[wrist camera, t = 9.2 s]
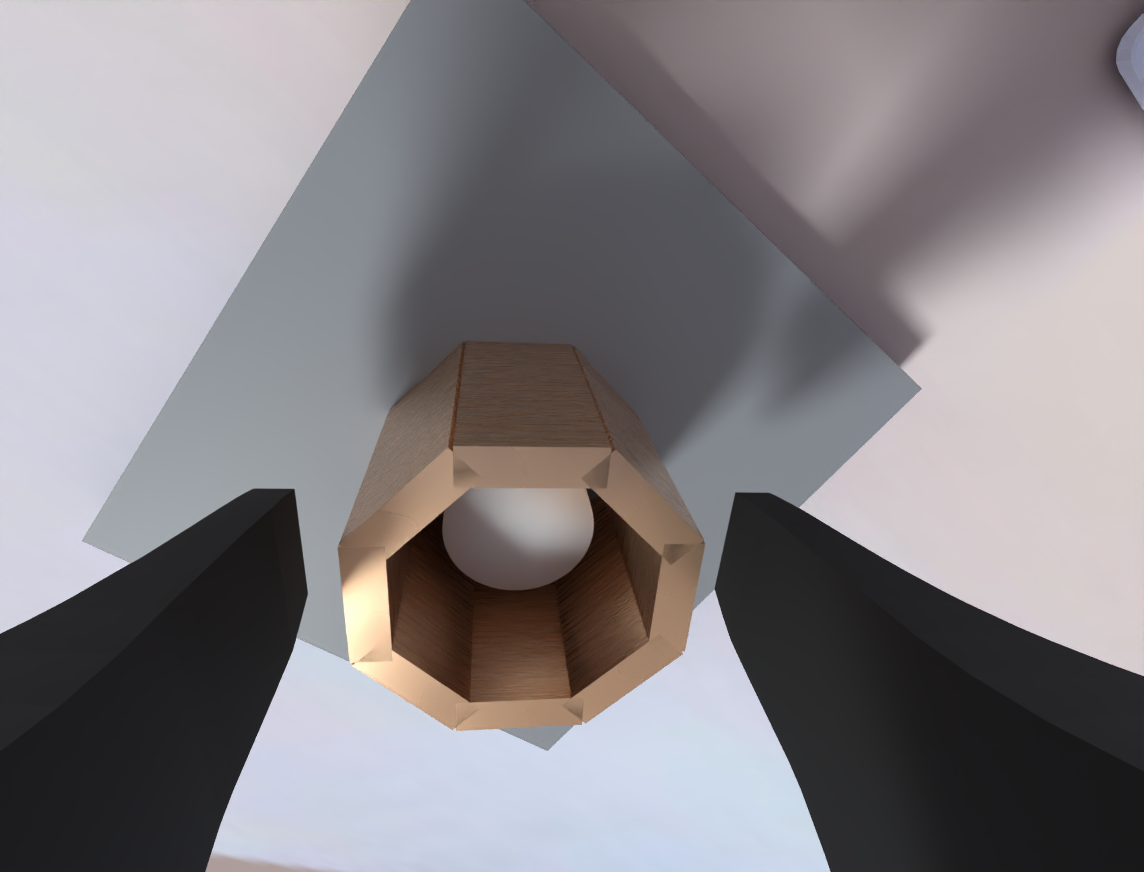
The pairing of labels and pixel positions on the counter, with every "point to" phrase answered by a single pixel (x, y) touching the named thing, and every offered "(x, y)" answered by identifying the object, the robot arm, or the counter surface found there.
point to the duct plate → (502, 315)
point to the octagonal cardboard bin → (516, 617)
